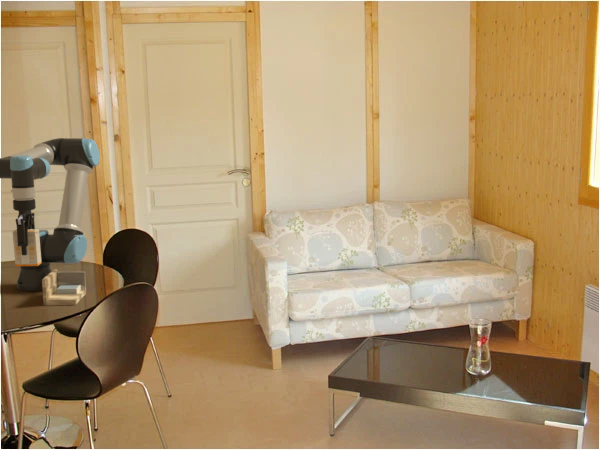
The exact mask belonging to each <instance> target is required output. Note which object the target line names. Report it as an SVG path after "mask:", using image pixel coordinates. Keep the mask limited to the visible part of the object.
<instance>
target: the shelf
mask: <svg viewBox="0 0 600 450" xmlns="http://www.w3.org/2000/svg"><path fill="white" fill-rule="evenodd" d="M86 282H87V281H86V271H58V269H52V272H51V273H49V274H48V275H47V276H46V277H45V278H43V279H42V288H43V290H42V301H43V306H76V305H77V304H78V303H79V302H80V301H81V300H82V299H83V297H85V295H86V294H87V285H86ZM60 285H81V290H80V291H79V292H78V293H77V294H57V288H58V287H59V286H60Z"/></svg>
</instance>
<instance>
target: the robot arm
mask: <svg viewBox="0 0 600 450" xmlns="http://www.w3.org/2000/svg"><path fill="white" fill-rule="evenodd" d="M100 159H101V156H100V150H99V147H98V144H97V143H96V141H95V140H93V139H91V138H85V137H83V138H76V137H75V138H69V137H68V138H67V137H65V138H64V137H61V138H60V137H58V138H53V139H49V140H45V141H43V142H39V143H38V144H35V145H34V146H33V147H32V148H29V149H26V150H24V151H20V152H18V153H17V152H16V153H14V154H11V155H9V156H5V157H1V158H0V179H8V180H10V179H11V190H10V192H11V193H12V198H13V200H12V206H13V207H12V208H13V211H17V212H18V215H17V218H15V224H16V230H17V239H18V246H20V247H21V261H22V264H29V263H30V257H29V246H27V245H28V233H27V232H28V229H36V225H35V223H36V222H35V212H32V211H33V210H35V209H36V208H37V207H36V199H35V197H36V191H35V180H39V179H43V178H45V177H47V176H49V174H50V172H51V166H63V168H64V169H65V171H66V175H65V176H66V177H65V182H64V188H63V189H64V190H63V194H62V201H61V207H60V215H59V220H58V225H57V226H56V227H55V228H54V229H53V232H52V234H50V233H49V231H48V230H47V229H41V230H40V229H39V237H40V250H41V262H42V263H41V264H40V265H38V266H19V272H18V277H17V280H16V289H17V290H19V291H23V292H39V291H43V288H42V279H43V278H45V277H46V276H47V275H48V274H49V273H51V272H52V271H53V269H52V268H51V263H52V264H66V265H70V264H78V263H80V262H81V261H82V260H83V259H84V258H85V255H86V253H87V249H88V248H87V247H88V240H87V238H86V236H85V235H84V231H83V230H82V229H81V226H82V225H81V224H82V217H83V211H84V204H85V197H86V193H87V192H86V191H87V186H88V185H87V184H88V178H89V177H88V176H89V175H90V174H91V173H93V168H95V167H98V166H99V163H100Z"/></svg>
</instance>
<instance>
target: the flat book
mask: <svg viewBox="0 0 600 450" xmlns="http://www.w3.org/2000/svg"><path fill="white" fill-rule="evenodd" d="M80 290H81V285H60V286H59V287H58V288H57V294H77V293H78V292H79V291H80Z"/></svg>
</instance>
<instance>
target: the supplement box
mask: <svg viewBox="0 0 600 450" xmlns="http://www.w3.org/2000/svg"><path fill="white" fill-rule="evenodd" d="M39 230H40V229H39V228H35V229H28V232H27V233H28V245H27V246H29V257H30V263H29V264H22V261H21V247H20V246H18V239H17V229H15V230H13V231H12V241H13V253H14V263H15V267H20V266H38V265H40V264H41V263H42V262H41V250H40V237H39Z"/></svg>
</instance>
